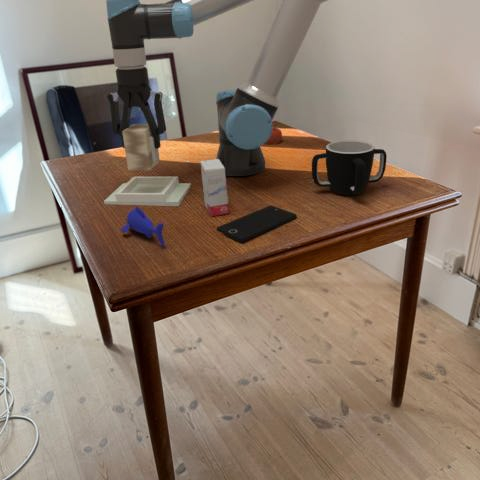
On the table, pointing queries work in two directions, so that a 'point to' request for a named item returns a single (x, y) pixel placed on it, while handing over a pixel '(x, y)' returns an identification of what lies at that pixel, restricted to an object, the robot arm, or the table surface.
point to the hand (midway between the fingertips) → (143, 160)
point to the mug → (349, 166)
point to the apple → (274, 136)
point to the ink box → (214, 187)
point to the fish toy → (143, 225)
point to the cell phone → (256, 223)
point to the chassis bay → (150, 192)
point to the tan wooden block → (138, 147)
